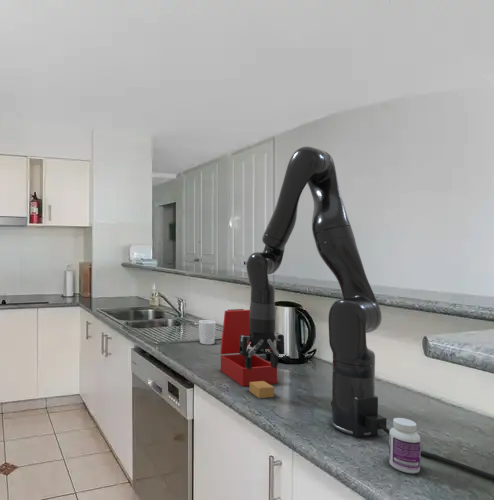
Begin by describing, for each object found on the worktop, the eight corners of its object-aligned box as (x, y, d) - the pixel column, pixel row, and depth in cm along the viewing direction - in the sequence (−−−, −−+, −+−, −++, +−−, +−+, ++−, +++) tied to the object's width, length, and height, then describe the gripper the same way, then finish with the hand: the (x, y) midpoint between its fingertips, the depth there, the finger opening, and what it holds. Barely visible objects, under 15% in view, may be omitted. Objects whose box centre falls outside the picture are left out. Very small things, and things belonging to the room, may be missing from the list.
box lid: (257, 310, 142) (250, 305, 147) (226, 311, 140) (219, 306, 145) (252, 352, 146) (245, 346, 151) (221, 354, 143) (215, 347, 148)
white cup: (205, 339, 190) (205, 319, 189) (219, 343, 183) (219, 321, 183) (194, 342, 184) (195, 321, 184) (208, 346, 178) (208, 324, 178)
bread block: (274, 396, 120) (274, 387, 120) (259, 398, 119) (259, 388, 119) (263, 390, 125) (263, 380, 125) (249, 391, 124) (249, 381, 124)
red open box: (277, 383, 131) (277, 366, 131) (242, 386, 129) (242, 368, 129) (251, 368, 147) (251, 353, 147) (220, 370, 144) (220, 355, 144)
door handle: (255, 359, 150) (293, 355, 152) (232, 345, 170) (266, 342, 172) (255, 368, 150) (294, 363, 152) (232, 353, 170) (267, 349, 172)
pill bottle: (427, 474, 80) (427, 427, 80) (402, 475, 80) (402, 428, 80) (406, 459, 86) (407, 415, 85) (382, 460, 85) (383, 416, 85)
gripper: (247, 319, 117) (246, 373, 117) (290, 317, 120) (289, 370, 120) (235, 314, 124) (234, 365, 124) (275, 313, 127) (274, 362, 127)
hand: (261, 368), depth 122 cm, fingers open, 8 cm apart
